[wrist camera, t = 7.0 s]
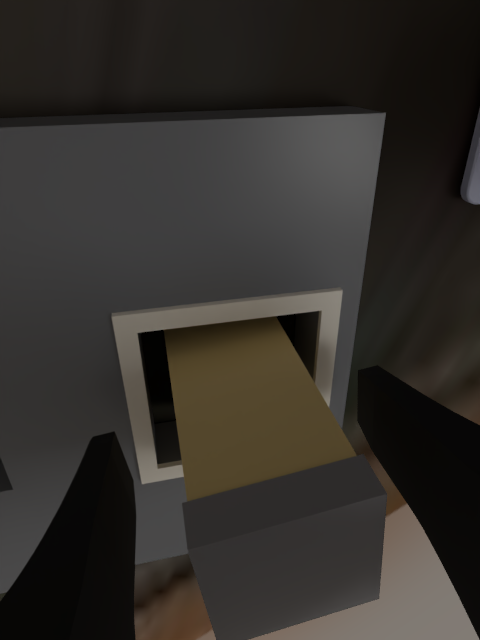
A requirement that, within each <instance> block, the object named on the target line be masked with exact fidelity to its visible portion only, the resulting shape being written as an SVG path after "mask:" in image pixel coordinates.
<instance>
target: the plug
mask: <svg viewBox="0 0 480 640" xmlns="http://www.w3.org/2000/svg"><path fill="white" fill-rule="evenodd" d="M164 336H165V343H166V351H167V358H168V365H169V372H170V380H171V387H172V394H173V402H174V409H175V416H176V423H177V431H178V438H179V445H180V452H181V460H182V467H183V474H184V481H185V489H186V496H187V502H184V503H182V509H183V517H184V525H185V533H186V541H187V549H188V553H189V556H190V559H191V562H192V565H193V568H194V572H195V575H196V578H197V581H198V584H199V587H200V590H201V593H202V596H203V600H204V603H205V606H206V609H207V612H208V615H209V618H210V621H211V624H212V628H213V631H214V633H215V637H216V640H248V639H251V638H254V637H258V636H261V635H264V634H268V633H271V632H274V631H277V630H280V629H284V628H287V627H290V626H293V625H296V624H300V623H303V622H306V621H309V620H312V619H316V618H319V617H322V616H325V615H328V614H332V613H334V612H338V611H341V610H344V609H348V608H351V607H354V606H357V605H360V604H364V603H367V602H370V601H373V600H376V599H379V592H380V579H381V566H382V554H383V540H384V528H385V515H386V502H387V493H386V491H385V490H384V488H383V486H382V485H381V483H380V481H379V480H378V478H377V476H376V475H375V473H374V471H373V470H372V468H371V466H370V465H369V463H368V461H367V460H366V458H365V456H364V455H363V454H362V455H358V456H357V455H356V453H355V452H354V450H353V448H352V446H351V445H350V443H349V441H348V440H347V438H346V436H345V434H344V433H343V431H342V429H341V427H340V426H339V424H338V422H337V421H336V419H335V417H334V415H333V414H332V412H331V410H330V409H329V407H328V405H327V403H326V402H325V400H324V398H323V396H322V395H321V393H320V391H319V390H318V388H317V386H316V384H315V383H314V381H313V379H312V378H311V376H310V374H309V372H308V371H307V369H306V367H305V366H304V364H303V362H302V360H301V359H300V357H299V355H298V353H297V352H296V350H295V348H294V347H293V345H292V343H291V341H290V340H289V338H288V336H287V335H286V333H285V331H284V329H283V328H282V326H281V324H280V323H279V321H278V319H277V317H276V316H272V317H264V318H256V319H248V320H239V321H231V322H223V323H215V324H207V325H198V326H190V327H182V328H174V329H165V330H164Z"/></svg>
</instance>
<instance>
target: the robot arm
mask: <svg viewBox="0 0 480 640" xmlns="http://www.w3.org/2000/svg"><path fill="white" fill-rule="evenodd" d="M461 196H462V199H464V200H465V201H466V202H469V203H471V204H476V205H477V204H480V108H479V113H478V117H477V121H476V125H475V130H474V134H473V138H472V143H471V147H470V151H469V155H468V160H467V164H466V168H465V172H464V177H463V181H462V185H461ZM357 421H358V423H359V425H360V427H361V429H362V431H363V433H364V435H365V437H366V439H367V441H368V443H369V445H370V447H371V449H372V451H373V452H374V454H375V456H376V457H377V459H378V460H379V462H380V463H381V465H382V466H383V468H384V469H385V471H386V472H387V474H388V475H389V477H390V478H391V480H392V481H393V483H394V484H395V486H396V487H397V489H398V490H399V492H400V493H401V495H402V496H403V498H404V499H405V501H406V502H407V504H408V505H409V507H410V508H411V510H412V511H413V513H414V514H415V516H416V517H417V519H418V521H419V522H420V524H421V526H422V527H423V529H424V530H425V533H426V535H427V536H428V538H429V540H430V542H431V544H432V546H433V547H434V549H435V551H436V553H437V555H438V557H439V559H440V561H441V562H442V564H443V566H444V568H445V570H446V572H447V574H448V576H449V578H450V580H451V582H452V584H453V586H454V588H455V590H456V592H457V594H458V596H459V597H460V600H461V602H462V604H463V606H464V608H465V610H466V612H467V614H468V616H469V618H470V621H471V623H472V625H473V627H474V629H475V631H476V633H477V635H478V637H479V639H480V425H478V424H476V423H474V422H472V421H470V420H468V419H466V418H464V417H463V416H461V415H459V414H457V413H455V412H453V411H451V410H450V409H448V408H446V407H444V406H442V405H441V404H439V403H437V402H435V401H434V400H432V399H430V398H429V397H427V396H425V395H424V394H422V393H420V392H419V391H417V390H416V389H414V388H412V387H411V386H409V385H408V384H406V383H404V382H403V381H401V380H400V379H398V378H397V377H395V376H393V375H392V374H390V373H389V372H387V371H385V370H384V369H382V368H381V367H379V366H373V367H369V368H365V369H361V370H358V419H357ZM135 549H136V503H135V491H134V480H133V477H132V475H131V472H130V470H129V467H128V464H127V462H126V459H125V457H124V454H123V452H122V449H121V446H120V444H119V441H118V439H117V436H116V433H115V431H114V432H110V433H106V434H102V435H98V436H94V437H92V438H91V440H90V441H89V444H88V446H87V449H86V451H85V453H84V456H83V458H82V460H81V463H80V465H79V467H78V469H77V472H76V474H75V476H74V478H73V480H72V482H71V484H70V487H69V489H68V491H67V493H66V495H65V497H64V499H63V501H62V503H61V505H60V507H59V509H58V510H57V512H56V514H55V516H54V518H53V520H52V521H51V523H50V525H49V527H48V529H47V530H46V532H45V534H44V536H43V538H42V539H41V541H40V543H39V544H38V546H37V548H36V549H35V551H34V553H33V554H32V556H31V557H30V559H29V561H28V562H27V564H26V565H25V567H24V568H23V570H22V571H21V573H20V574H19V576H18V577H17V579H16V580H15V582H14V583H13V584H12V586H11V587H10V589H9V590H8V592H7V593H6V594H5V596H4V597H3V599H2V600H1V601H0V640H135V625H134V578H135Z"/></svg>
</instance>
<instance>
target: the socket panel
mask: <svg viewBox="0 0 480 640" xmlns="http://www.w3.org/2000/svg"><path fill="white" fill-rule="evenodd" d="M385 116H386V113H384V112H379V111H374V110H369V109H364V108H359V107H354V106H335V107H306V108H278V109H249V110H220V111H192V112H163V113H134V114H106V115H77V116H48V117H19V118H0V593H5V592H8V590H9V589H10V587H11V586H12V584H13V583H14V582H15V580H16V579H17V577H18V576H19V574H20V573H21V571H22V570H23V568H24V567H25V565H26V564H27V562H28V561H29V559H30V557H31V556H32V554H33V553H34V551H35V549H36V548H37V546H38V544H39V543H40V541H41V539H42V538H43V536H44V534H45V532H46V530H47V529H48V527H49V525H50V523H51V521H52V520H53V518H54V516H55V514H56V512H57V510H58V509H59V507H60V505H61V503H62V501H63V499H64V497H65V495H66V493H67V491H68V489H69V487H70V484H71V482H72V480H73V478H74V476H75V474H76V472H77V469H78V467H79V465H80V463H81V460H82V458H83V456H84V453H85V451H86V449H87V446H88V444H89V441H90V440H91V438H92V437H94V436H98V435H102V434H106V433H110V432H114V431H115V433H116V436H117V439H118V441H119V444H120V446H121V449H122V452H123V454H124V457H125V459H126V462H127V464H128V467H129V470H130V472H131V475H132V477H133V480H134V491H135V503H136V549H135V565H136V564H141V563H146V562H150V561H155V560H160V559H165V558H169V557H174V556H179V555H183V554H188V549H187V541H186V533H185V525H184V517H183V509H182V503H184V502H187V496H186V489H185V481H184V474H183V467H182V460H181V452H180V445H179V438H178V431H177V423H176V421H170V422H164V423H158V424H154V419H153V412H152V405H151V398H150V391H149V384H148V377H147V371H146V364H145V357H144V350H143V343H142V336H141V332H149V331H157V330H165V329H174V328H182V327H190V326H198V325H207V324H215V323H223V322H231V321H239V320H248V319H256V318H264V317H272V316H281V315H289V314H296V321H295V338H294V348H295V350H296V352H297V353H298V355H299V357H300V359H301V360H302V362H303V364H304V366H305V367H306V369H307V371H308V372H309V374H310V376H311V378H312V379H313V381H314V383H315V384H316V386H317V388H318V390H319V391H320V393H321V395H322V396H323V398H324V400H325V402H326V403H327V405H328V407H329V409H330V410H331V412H332V414H333V415H334V417H335V419H336V421H337V422H338V424H339V426H340V427H341V429H342V425H343V417H344V410H345V403H346V396H347V389H348V381H349V374H350V367H351V360H352V353H353V346H354V338H355V331H356V324H357V317H358V310H359V303H360V295H361V288H362V281H363V274H364V267H365V259H366V252H367V245H368V238H369V231H370V224H371V216H372V209H373V202H374V195H375V188H376V180H377V173H378V166H379V159H380V152H381V145H382V137H383V130H384V123H385Z"/></svg>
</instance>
